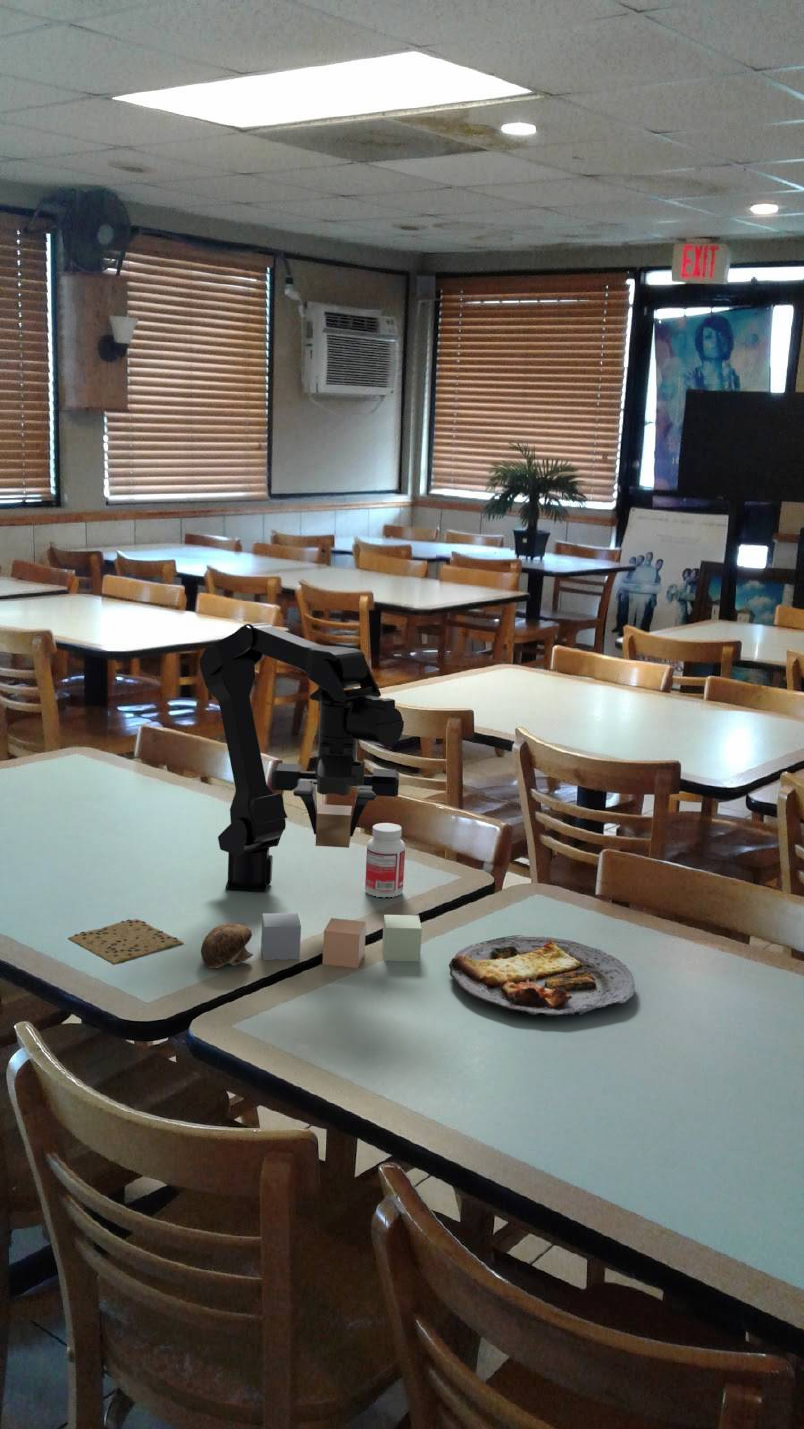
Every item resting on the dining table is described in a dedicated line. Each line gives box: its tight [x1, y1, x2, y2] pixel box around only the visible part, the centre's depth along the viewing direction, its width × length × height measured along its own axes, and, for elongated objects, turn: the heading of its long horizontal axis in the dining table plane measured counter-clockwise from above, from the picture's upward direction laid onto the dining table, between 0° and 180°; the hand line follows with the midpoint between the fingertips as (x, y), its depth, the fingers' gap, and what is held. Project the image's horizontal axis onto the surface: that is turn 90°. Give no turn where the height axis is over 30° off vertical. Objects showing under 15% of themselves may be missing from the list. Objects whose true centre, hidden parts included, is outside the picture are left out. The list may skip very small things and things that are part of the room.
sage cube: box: [381, 914, 423, 963], centre depth 179 cm, size 5×5×5 cm
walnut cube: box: [314, 803, 353, 849], centre depth 189 cm, size 5×5×5 cm
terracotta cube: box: [322, 917, 367, 969], centre depth 176 cm, size 5×5×5 cm
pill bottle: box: [364, 822, 406, 899], centre depth 203 cm, size 6×6×11 cm
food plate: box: [448, 934, 636, 1017], centre depth 172 cm, size 25×23×4 cm
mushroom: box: [200, 922, 254, 969], centre depth 172 cm, size 8×8×6 cm
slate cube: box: [260, 912, 302, 961], centre depth 177 cm, size 5×5×5 cm
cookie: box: [67, 918, 185, 965], centre depth 179 cm, size 12×12×1 cm
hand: (333, 834), depth 190 cm, fingers closed on walnut cube, 5 cm apart
